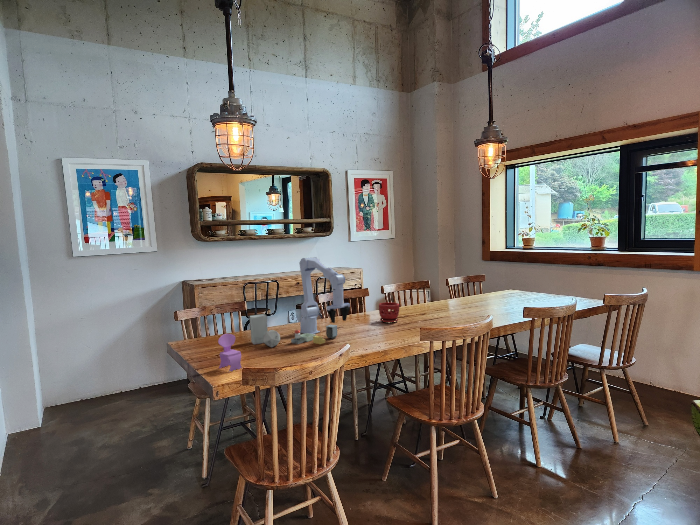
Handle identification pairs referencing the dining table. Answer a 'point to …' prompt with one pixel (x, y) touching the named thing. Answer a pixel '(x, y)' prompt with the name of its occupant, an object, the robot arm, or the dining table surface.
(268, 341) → the die
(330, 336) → the castor
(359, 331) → the dining table surface
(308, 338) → the tray
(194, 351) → the dining table surface
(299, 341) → the pin socket
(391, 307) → the plant pot
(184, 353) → the dining table surface
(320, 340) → the block
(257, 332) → the skincare box
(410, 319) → the dining table surface
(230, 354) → the toy chair
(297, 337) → the pin
